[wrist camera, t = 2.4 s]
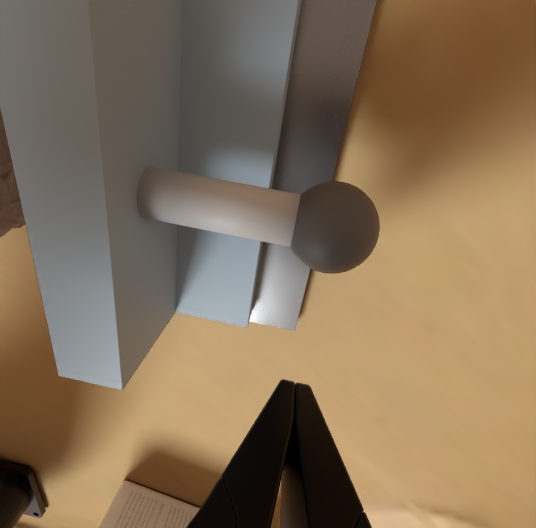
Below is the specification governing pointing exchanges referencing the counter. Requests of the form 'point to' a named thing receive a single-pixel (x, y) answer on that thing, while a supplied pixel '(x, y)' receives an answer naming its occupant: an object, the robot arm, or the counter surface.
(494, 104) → the counter surface
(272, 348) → the counter surface
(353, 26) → the vise bed
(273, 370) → the counter surface
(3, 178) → the brick
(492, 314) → the counter surface
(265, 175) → the sliding jaw
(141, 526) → the skincare box
